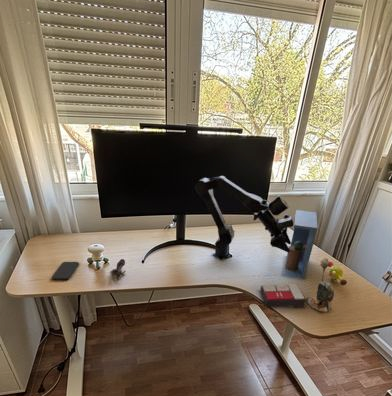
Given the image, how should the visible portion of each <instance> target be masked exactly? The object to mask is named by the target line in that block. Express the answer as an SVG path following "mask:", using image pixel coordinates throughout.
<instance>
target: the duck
mask: <svg viewBox="0 0 392 396" xmlns="http://www.w3.org/2000/svg"><path fill="white" fill-rule="evenodd" d="M288 248H289V250H290V252H289V253H288V252H286V256H287V258H286V257H285V261H286V262H285V261H284V267H285V268H286V269H288V270H297V269H298V265H299V261H300V257H301V253H302V248H306V245H303V242H301V241H296V242H295V243H294V245H292V246H291V245H289V246H288Z"/></svg>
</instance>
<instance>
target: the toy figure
mask: <svg viewBox="0 0 392 396" xmlns="http://www.w3.org/2000/svg"><path fill="white" fill-rule="evenodd" d="M328 262H329V265H328V266H327V268H329V270H330V271H329V272H328V275H329V276H330V277H331V279H330V280H331V281H332V282H333V283H334V282H335V283H337V280H340V281H339V283H340V285H342V286H345V285H347V284H348V280H346V279H344V278H343V275H344V271H343V269H342V268H341V267H339V266H334V263H333V262H332V261H328Z"/></svg>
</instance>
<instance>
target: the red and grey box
mask: <svg viewBox="0 0 392 396" xmlns="http://www.w3.org/2000/svg"><path fill="white" fill-rule="evenodd" d="M259 292H260V295H261V297H262V301H263V303H264V306H265V307H266V308H279V307H280V308H281V307H293V308H305V305H306V300H307V298H306V297H305V296H304V294H303V292H302V290H301V288H300V287H299V285H298V284H295V283H292V284H291V283H290V284H287V283H282V284H281V283H279V284H262V285H260V290H259Z"/></svg>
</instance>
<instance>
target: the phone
mask: <svg viewBox="0 0 392 396" xmlns="http://www.w3.org/2000/svg"><path fill="white" fill-rule="evenodd" d="M79 265H80V263H79V261H63V262H62V263H61V264H60V265H59V266H58V267H57V269H56V270H55V272H54V273H53V275H52V276H51V279H52V280H55V281H57V280H60V281H61V280H63V281H64V280H65V281H67V280H70V279H71V277H72V276H73V274H74V273H75V271H76V269H77V268H78V266H79Z"/></svg>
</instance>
